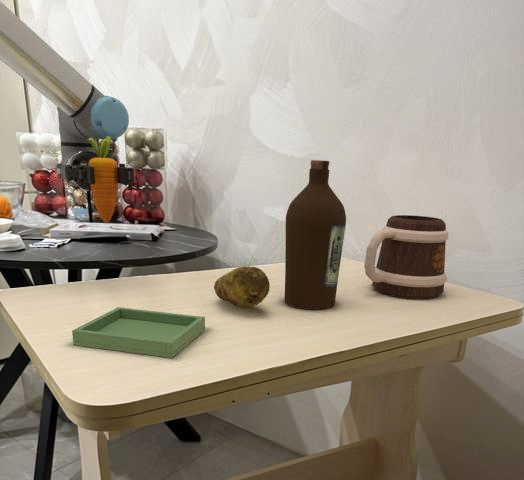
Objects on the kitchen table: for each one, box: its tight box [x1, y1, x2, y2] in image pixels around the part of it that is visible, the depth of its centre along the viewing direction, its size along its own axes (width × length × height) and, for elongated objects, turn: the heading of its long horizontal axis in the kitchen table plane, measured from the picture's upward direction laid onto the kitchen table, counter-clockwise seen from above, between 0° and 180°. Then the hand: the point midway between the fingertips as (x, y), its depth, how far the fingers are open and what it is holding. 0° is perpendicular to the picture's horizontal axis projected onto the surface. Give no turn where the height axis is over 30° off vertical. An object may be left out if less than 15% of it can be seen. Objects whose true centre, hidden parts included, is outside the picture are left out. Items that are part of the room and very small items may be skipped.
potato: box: [213, 265, 271, 308], centre depth 90 cm, size 8×13×8 cm, turn 14°
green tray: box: [71, 306, 206, 359], centre depth 75 cm, size 15×13×2 cm
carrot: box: [88, 136, 119, 224], centre depth 93 cm, size 5×5×15 cm
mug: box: [364, 214, 449, 300], centre depth 105 cm, size 20×15×15 cm
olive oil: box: [284, 159, 347, 311], centre depth 92 cm, size 11×11×25 cm
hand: (109, 176), depth 88 cm, fingers closed on carrot, 5 cm apart
